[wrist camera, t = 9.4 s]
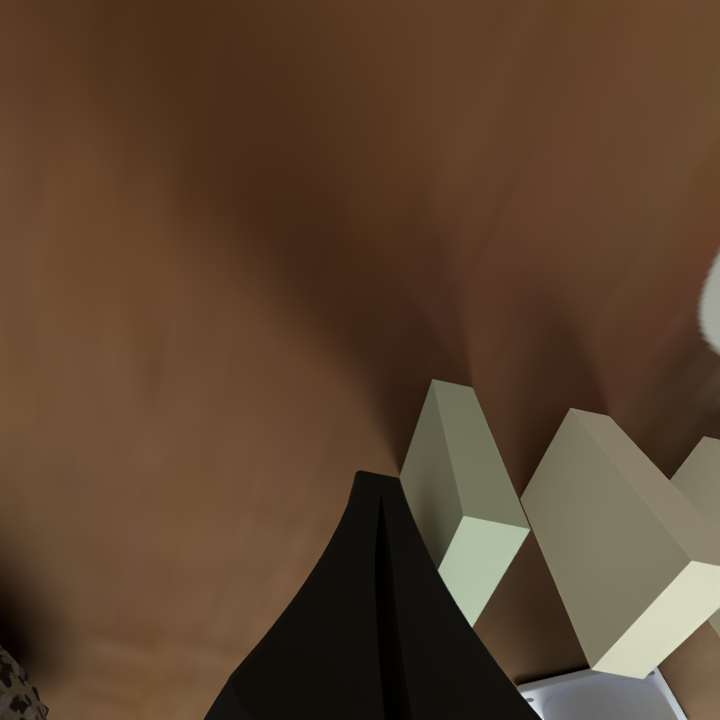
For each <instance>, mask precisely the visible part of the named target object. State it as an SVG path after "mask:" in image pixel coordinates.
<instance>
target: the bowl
mask: <svg viewBox="0 0 720 720" xmlns="http://www.w3.org/2000/svg"><path fill="white" fill-rule="evenodd" d="M48 711H49V709H48V708H47V707H46V706H45V705H44V704H43V703H42V702H41V701H40V699H39V696H38V692H37V689H36V688H35V687H33V686H32V685H30V684H29V678H28V674H27V673H26V672H25V671H24V670H23V669H22V668H21V667H20V666H19V665H18V664H17V662H16V661H15V660H14V659H13V658H12V657H11V656H10V655H9V653H8V652H7V651H6V650H4V649H2V647H1V645H0V720H47V719H46V716H47V714H48Z"/></svg>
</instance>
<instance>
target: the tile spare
mask: <svg viewBox="0 0 720 720" xmlns="http://www.w3.org/2000/svg"><path fill="white" fill-rule="evenodd" d="M400 481H401V484H402V487H403V490H404V494H405V496H406V499H407V502H408V505H409V507H410V510H411V513H412V515H413V518H414V520H415V522H416V525H417V527H418V529H419V532H420V534H421V536H422V539H423V541H424V543H425V545H426V547H427V549H428V552H429V554H430V556H431V558H432V560H433V562H434V564H435V566H436V568H437V570H438V571H439V573H440V575H441V577H442V579H443V581H444V583H445V584H446V586H447V588H448V590H449V591H450V593H451V595H452V596H453V598H454V600H455V602H456V603H457V605H458V606H459V608H460V610H461V611H462V613H463V614H464V616H465V618H466V619H467V621H468V622H469V624H470V625H471V627H473V625H474V623H475V622H476V620H477V618H478V617H479V615H480V613H481V612H482V610H483V608H484V607H485V605H486V603H487V602H488V600H489V598H490V597H491V595H492V593H493V592H494V590H495V588H496V587H497V585H498V583H499V581H500V580H501V578H502V576H503V575H504V573H505V571H506V570H507V568H508V566H509V565H510V563H511V561H512V560H513V558H514V556H515V555H516V553H517V551H518V550H519V548H520V546H521V544H522V543H523V541H524V539H525V538H526V536H527V534H528V533H529V531H530V527H529V524H528V522H527V519H526V517H525V515H524V512H523V510H522V507H521V505H520V502H519V500H518V497H517V495H516V493H515V490H514V488H513V485H512V483H511V480H510V478H509V475H508V473H507V471H506V468H505V466H504V463H503V461H502V458H501V456H500V453H499V451H498V449H497V446H496V444H495V441H494V439H493V436H492V434H491V431H490V429H489V427H488V424H487V422H486V419H485V417H484V414H483V412H482V409H481V407H480V405H479V402H478V400H477V397H476V395H475V392H474V390H473V388H472V387H467V386H463V385H458V384H453V383H448V382H444V381H439V380H434V379H432V382H431V385H430V387H429V390H428V393H427V396H426V399H425V402H424V405H423V408H422V411H421V414H420V417H419V420H418V423H417V426H416V429H415V432H414V435H413V438H412V441H411V444H410V447H409V450H408V453H407V456H406V459H405V462H404V465H403V468H402V471H401V473H400Z"/></svg>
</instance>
